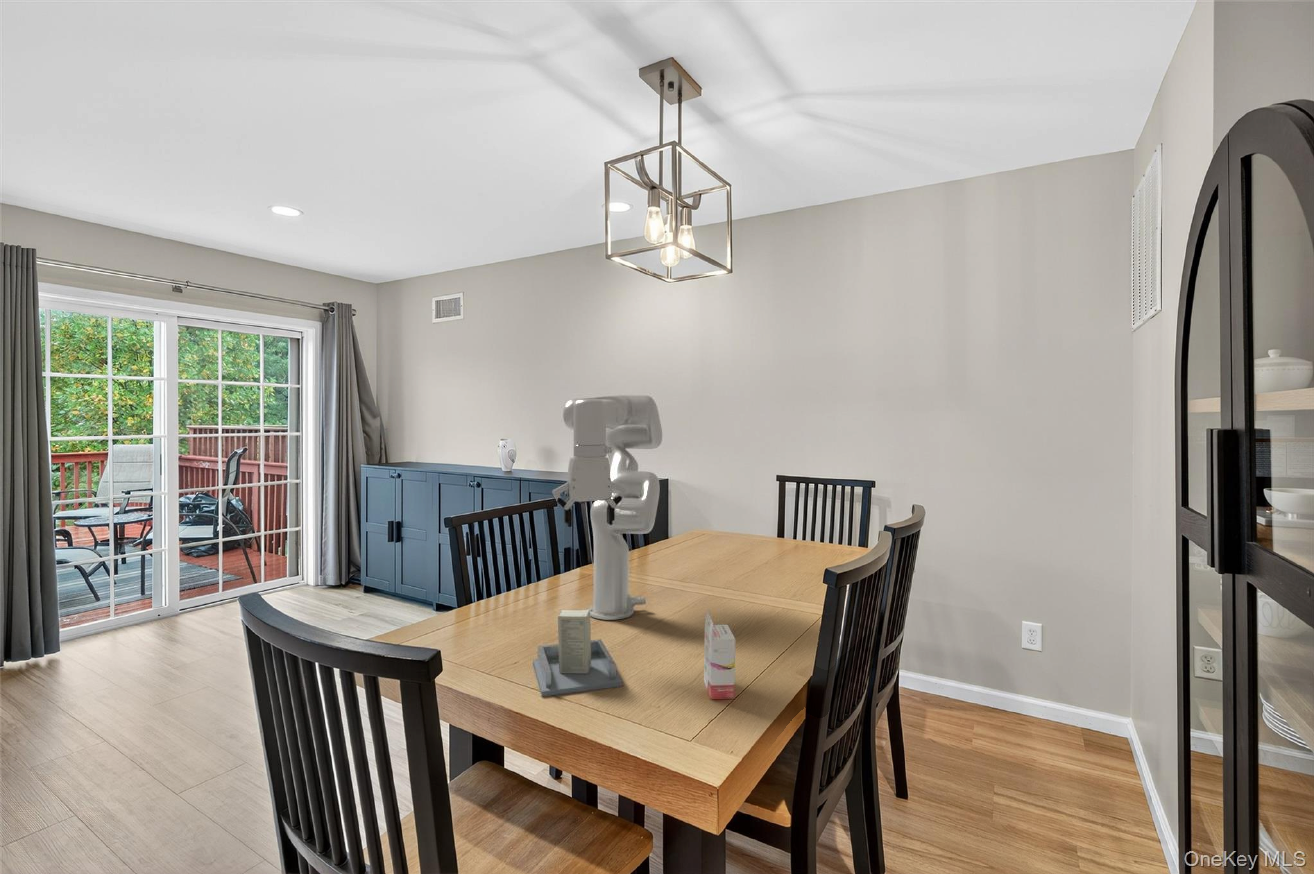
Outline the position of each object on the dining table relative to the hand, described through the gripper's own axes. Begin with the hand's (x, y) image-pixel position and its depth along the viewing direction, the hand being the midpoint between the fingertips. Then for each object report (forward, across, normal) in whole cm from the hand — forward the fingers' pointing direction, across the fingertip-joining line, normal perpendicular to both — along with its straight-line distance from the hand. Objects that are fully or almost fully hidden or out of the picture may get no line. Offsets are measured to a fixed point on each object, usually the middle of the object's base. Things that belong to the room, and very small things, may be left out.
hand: (589, 524), depth 144 cm
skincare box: (+28, +6, +16) cm, 32 cm away
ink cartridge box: (+28, -20, +31) cm, 47 cm away
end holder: (+28, +6, +16) cm, 33 cm away
